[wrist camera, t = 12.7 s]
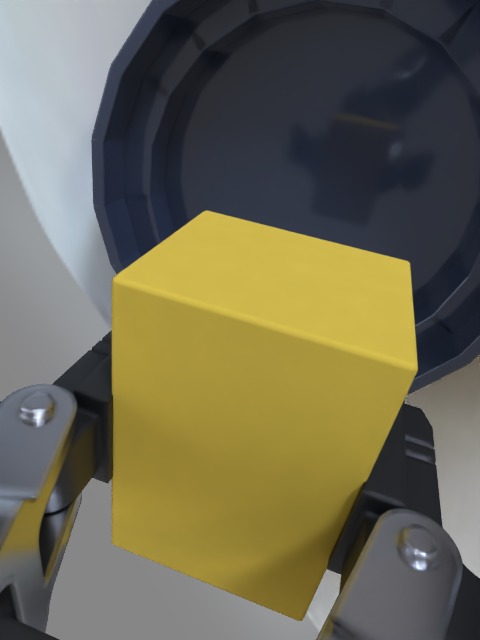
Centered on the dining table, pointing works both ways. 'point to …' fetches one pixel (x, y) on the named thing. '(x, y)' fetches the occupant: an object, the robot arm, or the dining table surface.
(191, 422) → the yellow block
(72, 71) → the dining table surface
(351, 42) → the bowl
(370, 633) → the robot arm
